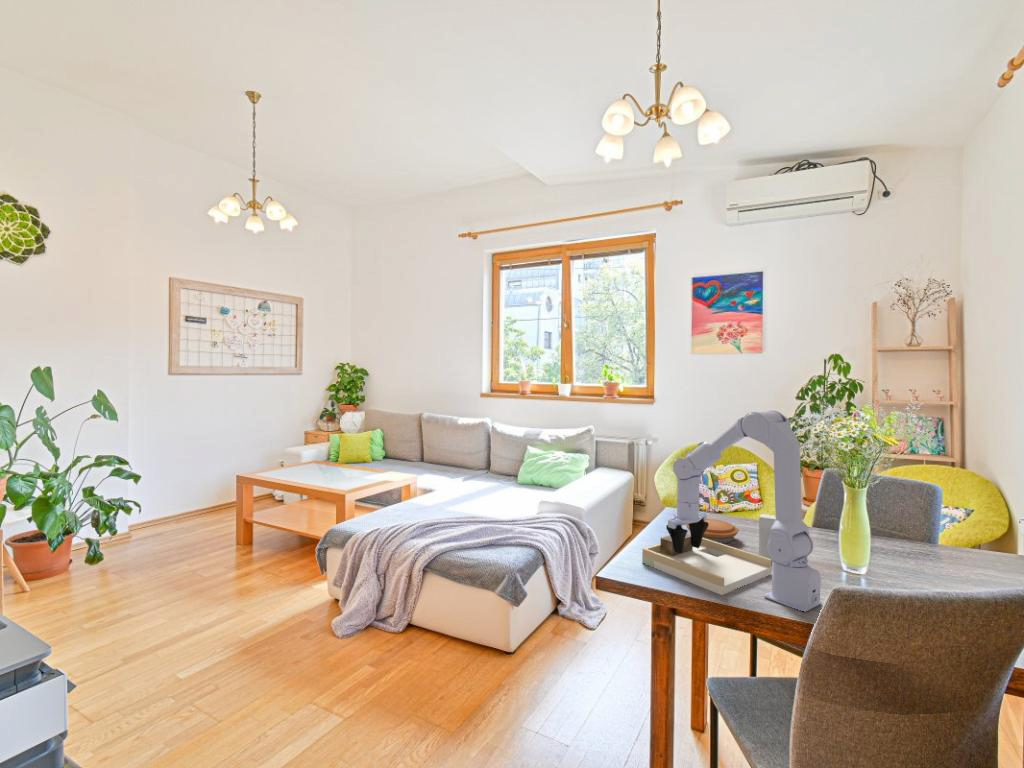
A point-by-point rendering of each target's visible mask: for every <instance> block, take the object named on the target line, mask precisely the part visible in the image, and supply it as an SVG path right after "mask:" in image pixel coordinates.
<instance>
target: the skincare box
mask: <svg viewBox="0 0 1024 768" xmlns="http://www.w3.org/2000/svg"><path fill="white" fill-rule="evenodd" d="M758 519H759V521H758V522H759V525H758V526H759V529H758V532H759V533H758V542H759V543H758V555H759V556H763V557H766V558H769V559H772V558H771V556H770V555H769V553H768V550H767V543H768V540H769V539H770V535H771V528H772V526H773V524H774V522H775V520H776V515H774V514H773V515H772V514H765V513H760V515H759V518H758Z"/></svg>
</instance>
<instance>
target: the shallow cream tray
mask: <svg viewBox="0 0 1024 768" xmlns="http://www.w3.org/2000/svg"><path fill="white" fill-rule="evenodd" d="M641 552H642V556H641V557H642V559H641V561H642V562H641V563H642V564H643V563H645V564H644V565H646V564H647V565H646V566H648V565H649V566H648V567H651V566H652V567H651V568H653V567H654V568H653V569H656V568H657V569H656V570H659V571H660V570H661V572H663V573H666V574H667V575H671V576H673V577H675V578H679V579H681V580H683V581H685V582H688V583H691V584H693V585H695V586H698V587H700V588H702V589H705V590H707V591H710V592H712V593H716V594H718V595H720V596H724V595H726V594H728V593H731V592H734V591H736V590H738V589H741V588H743V587H745V586H747V584H748V585H750V584H752V583H755V582H756V581H759V580H762V579H764V578H766V576H767V577H769V576H772V559H769V558H766V557H763V556H759V554H755V553H752V552H750V551H746V550H743V549H739V548H736V547H733V546H731V545H730V546H729V545H727V544H721V543H718V542H715V541H712V540H708V539H705V538H702V541H701V545H700V548H696V547H693V549H692V550H691V551H688V552H685V553H682V554H678V555H675V556H670V555H667V554H664V553H662V552H660V543H658V544H655V545H651V546H648V547H644V548H642V551H641ZM768 575H769V576H768ZM761 578H762V579H761ZM754 581H755V582H754ZM749 583H750V584H749ZM744 585H745V586H744ZM742 586H743V587H742ZM740 587H741V588H740ZM737 588H738V589H737ZM735 589H736V590H735Z"/></svg>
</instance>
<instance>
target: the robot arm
mask: <svg viewBox="0 0 1024 768" xmlns="http://www.w3.org/2000/svg"><path fill="white" fill-rule="evenodd" d="M790 425H791V424H790V419H789V418H788V417H786V415H784V414H782V413H781V412H779V411H777V410H767V411H751V412H747V413H746V414H745V415H744V416H742V417H740V418H738V419H737V421H736V422H734V423H733V424H732V425H731V426H729V427H728V428H727V429H726V430H725V431H724V432H723V433H722V434H721V435H719V436H718V437H717V438H715V440H713V441H710V440H706V441H700V442H699V443H698V444H697V445H698V446H697V447H696V448H694V449H693V450H692V451H688V452H687V453H686V456H685V457H677V458H676V460H675V461H674V462H673V465H672V466H673V467H672V469H673V470H672V471H673V473H674V476H676V477H677V479H676V480H677V488H676V489H677V490H676V494H677V495H676V503H677V504H676V513H673V517H672V518H671V519H668V520H667V525H666V528H665V529H666V530H667V532H668V534H669V535H670V536H671V539H672V542H673V546H674V550H675V552H677V553H680V554H682V553H683V548H684V540H685V536H686V534H688V531H689V533H690V535H691V544H692V546H693V547H696V548H700V545H701V541H702V538H703V535H704V533H705V531H706V529H707V527H708V522H704V521H705V520H707V519H708V518H707V517H708V516H707V515H708V514H707V513H706V512H701V511H700V483H701V478H702V476H703V474H704V473H705V470H707V469H708V468H710V467H711V466H713V465H714V464H715V463H717V462H718V461H720V460H721V458H722V452H724V451H726V450H727V449H728V448H730V447H732V446H733V445H735V444H736V443H738V442H740V441H741V440H742V439H744V438H747V437H749V438H750V439H751V440H754V441H757V442H758V443H761V444H763V445H764V446H766V447H767V448H768V449H769V450H770V451H772V453H773V470H774V471H773V473H774V476H773V477H774V506H775V510H774V511H775V516H776V520H775V522H774V524H773V526H772V528H771V535H770V539H769V540H768V543H767V550H768V553H769V555H770V556H771V558H772V564H771V590H770V591H769V592H767V593H765V594H763V597H764V598H766V599H767V600H771V601H773V602H777V603H779V604H782V605H783V606H787V607H790V608H792V609H794V608H795V610H797V609H798V611H800V610H801V612H802V611H804V612H803V613H807V612H808V611H810V610H812V609H814V608H816V607H818V606H820V605H821V604H822V601H821V580H822V579H821V578H822V577H821V573H820V571H819V570H818V569H816V568H814V567H812V566H810V565H809V563H808V556H809V555H811V553H812V552H813V551H814V541H813V539H812V537H811V536H810V533H809V530H810V529H809V526H808V525H807V524H806V523H805V522H804V521H803V513H802V511H803V510H802V509H803V508H802V507H803V506H802V481H801V480H802V478H801V475H802V474H801V447H800V446H801V445H800V442H799V439H798V438H797V437H796V435H795V432H794V431H793V429H792V427H791V426H790ZM686 524H689V528H690V530H689V529H685V528H683V526H686ZM806 611H807V612H806Z"/></svg>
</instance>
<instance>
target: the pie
mask: <svg viewBox="0 0 1024 768" xmlns="http://www.w3.org/2000/svg"><path fill="white" fill-rule="evenodd" d="M704 522H708V527H707V529H706V531H705V533H704V535H703V538H705V539H708V540H712V541H715V542H718V543H721V544H724V545H727V544H728V543H729V544H730V543H731V542H732V540H733V539H734V538H735V536H737V534H738V533H739V531H740V530H739V529H738V527H736V526H735V525H733V524H732V523H730V522H728V521H724V520H721V519H717V518H707V520H705V521H704ZM685 526H686V528H687V530H688V531H690V528H689V524H686V525H685Z"/></svg>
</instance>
